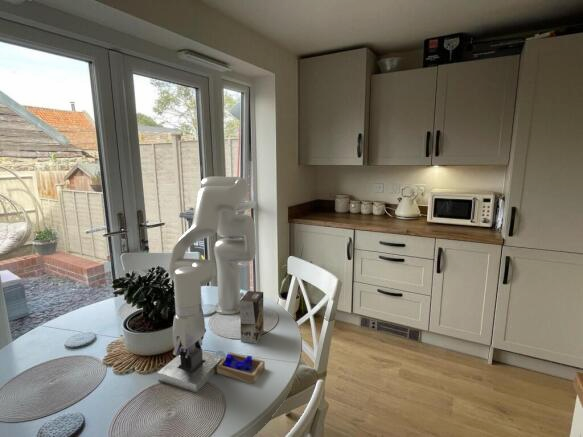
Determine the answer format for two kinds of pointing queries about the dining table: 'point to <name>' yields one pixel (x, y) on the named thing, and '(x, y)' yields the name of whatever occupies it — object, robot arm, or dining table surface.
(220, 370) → the tidy tray
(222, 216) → the robot arm
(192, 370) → the plug
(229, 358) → the cable holder
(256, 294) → the coffee box
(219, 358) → the socket plate
